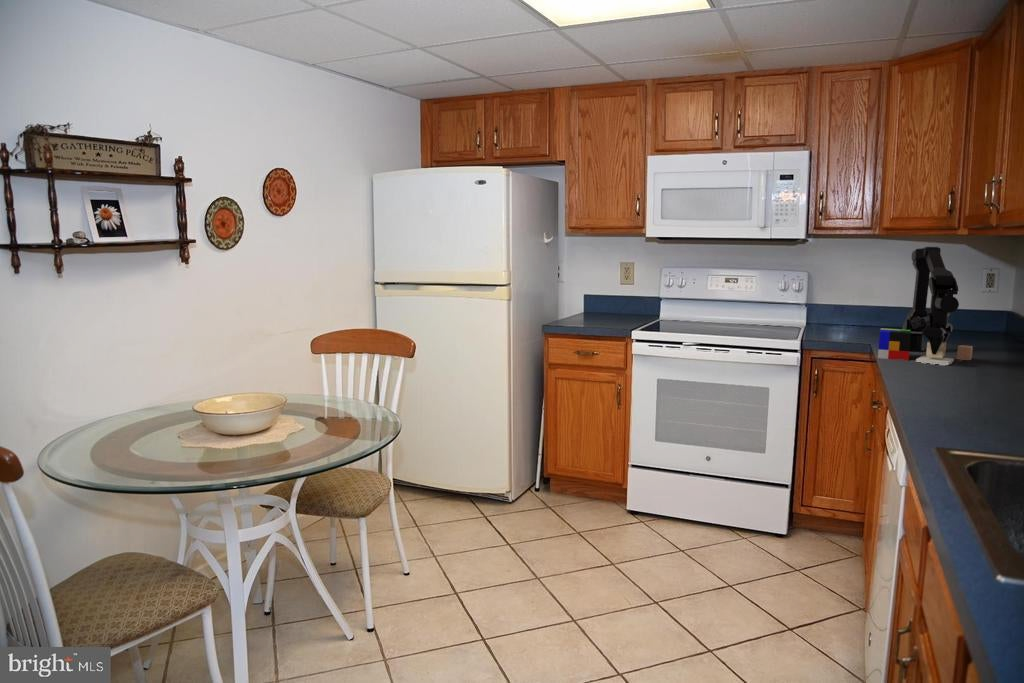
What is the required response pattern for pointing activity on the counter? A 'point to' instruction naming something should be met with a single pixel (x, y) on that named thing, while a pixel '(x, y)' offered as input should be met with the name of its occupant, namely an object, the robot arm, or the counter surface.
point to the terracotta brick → (964, 352)
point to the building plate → (935, 360)
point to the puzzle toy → (894, 344)
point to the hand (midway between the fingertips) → (935, 353)
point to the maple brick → (939, 353)
